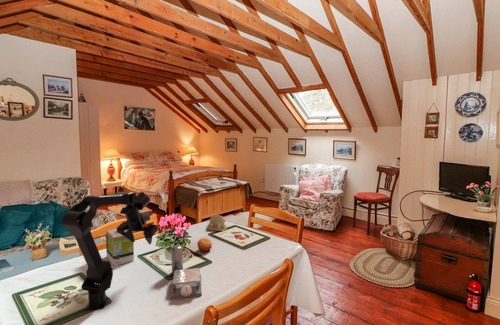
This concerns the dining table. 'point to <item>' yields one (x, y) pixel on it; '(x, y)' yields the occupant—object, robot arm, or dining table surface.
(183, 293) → the scale
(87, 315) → the dining table surface
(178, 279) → the pan
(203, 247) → the fruit
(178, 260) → the cylinder
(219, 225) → the ceramic model
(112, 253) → the tea box
